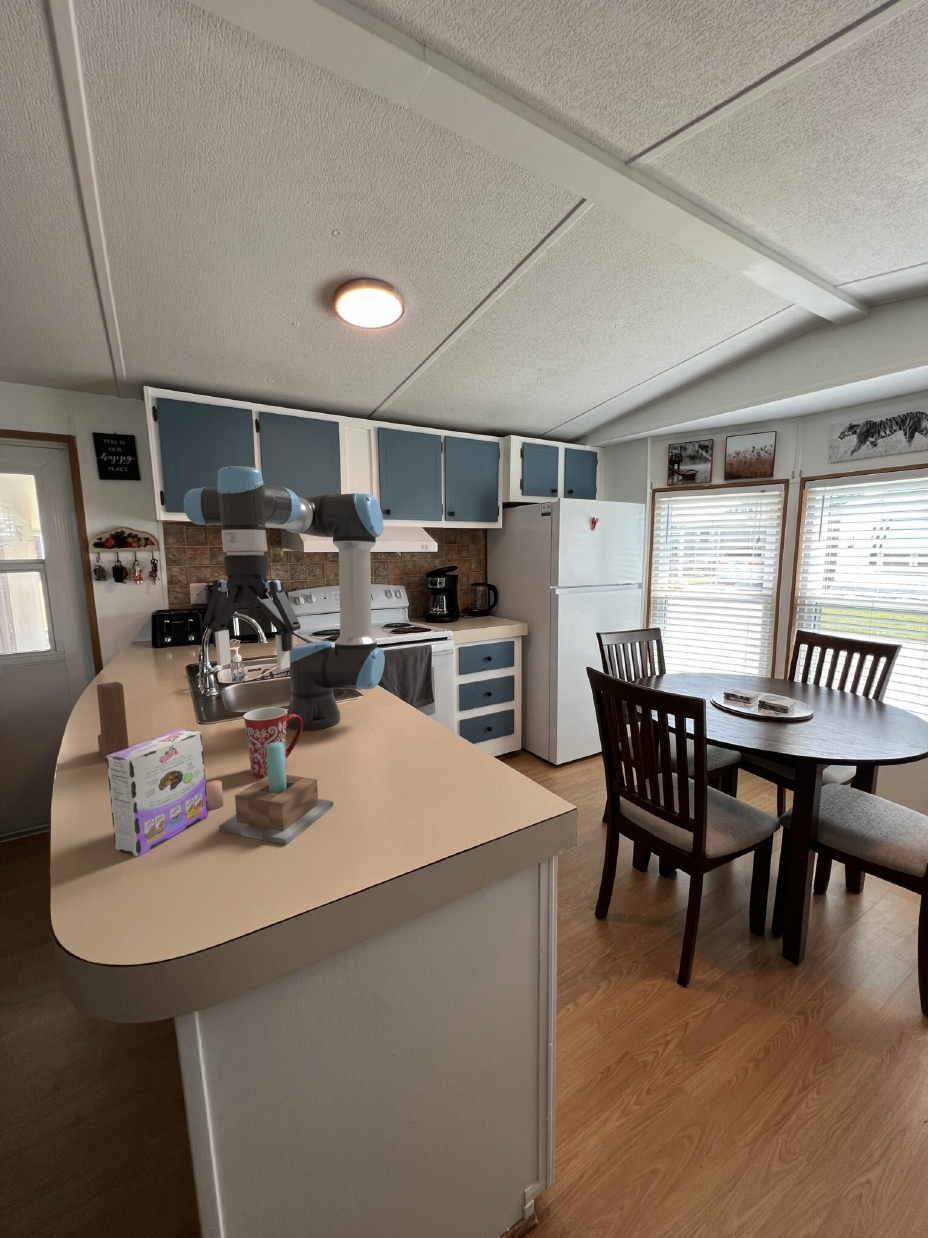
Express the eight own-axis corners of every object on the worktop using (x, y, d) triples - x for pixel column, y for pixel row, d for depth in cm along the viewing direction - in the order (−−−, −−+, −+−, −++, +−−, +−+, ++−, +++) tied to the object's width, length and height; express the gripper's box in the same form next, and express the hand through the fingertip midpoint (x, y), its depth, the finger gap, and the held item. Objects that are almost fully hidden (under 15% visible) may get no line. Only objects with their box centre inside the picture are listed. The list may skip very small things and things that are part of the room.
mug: (254, 784, 108) (250, 722, 106) (241, 770, 115) (237, 712, 113) (311, 768, 116) (309, 710, 114) (296, 756, 123) (293, 701, 121)
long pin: (278, 812, 96) (274, 741, 94) (291, 815, 95) (287, 743, 93) (267, 820, 93) (262, 747, 91) (280, 823, 92) (276, 749, 90)
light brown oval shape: (214, 801, 101) (213, 779, 100) (226, 803, 100) (225, 781, 99) (202, 808, 98) (200, 786, 97) (214, 810, 97) (213, 788, 96)
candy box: (186, 811, 97) (179, 727, 95) (209, 817, 95) (203, 731, 93) (113, 850, 84) (104, 754, 82) (138, 857, 82) (129, 759, 80)
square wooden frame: (273, 795, 103) (271, 767, 102) (333, 806, 98) (332, 776, 97) (219, 831, 90) (217, 798, 89) (286, 845, 85) (284, 811, 84)
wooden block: (98, 752, 127) (91, 681, 124) (120, 747, 130) (113, 678, 128) (107, 762, 120) (100, 687, 118) (129, 756, 124) (123, 684, 121)
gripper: (175, 554, 95) (185, 666, 97) (290, 553, 87) (297, 675, 90) (206, 553, 102) (215, 658, 105) (315, 552, 94) (321, 665, 97)
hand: (253, 666), depth 97 cm, fingers open, 13 cm apart
